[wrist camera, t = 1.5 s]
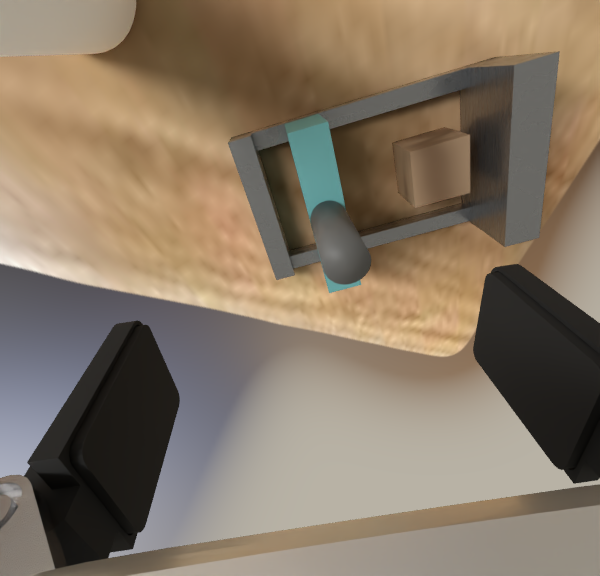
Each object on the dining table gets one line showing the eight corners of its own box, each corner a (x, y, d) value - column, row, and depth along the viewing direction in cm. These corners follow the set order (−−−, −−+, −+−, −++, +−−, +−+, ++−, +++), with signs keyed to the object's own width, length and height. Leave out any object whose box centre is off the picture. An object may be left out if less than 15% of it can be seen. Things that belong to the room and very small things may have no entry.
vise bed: (494, 57, 30) (559, 51, 23) (490, 208, 37) (539, 237, 30) (231, 137, 32) (220, 153, 25) (276, 266, 39) (277, 306, 32)
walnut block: (444, 127, 33) (469, 134, 29) (446, 178, 35) (470, 192, 31) (392, 142, 33) (409, 152, 29) (398, 192, 36) (415, 208, 32)
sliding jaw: (317, 113, 30) (349, 138, 18) (348, 255, 37) (385, 341, 25) (284, 123, 30) (293, 155, 18) (320, 262, 37) (344, 351, 25)
